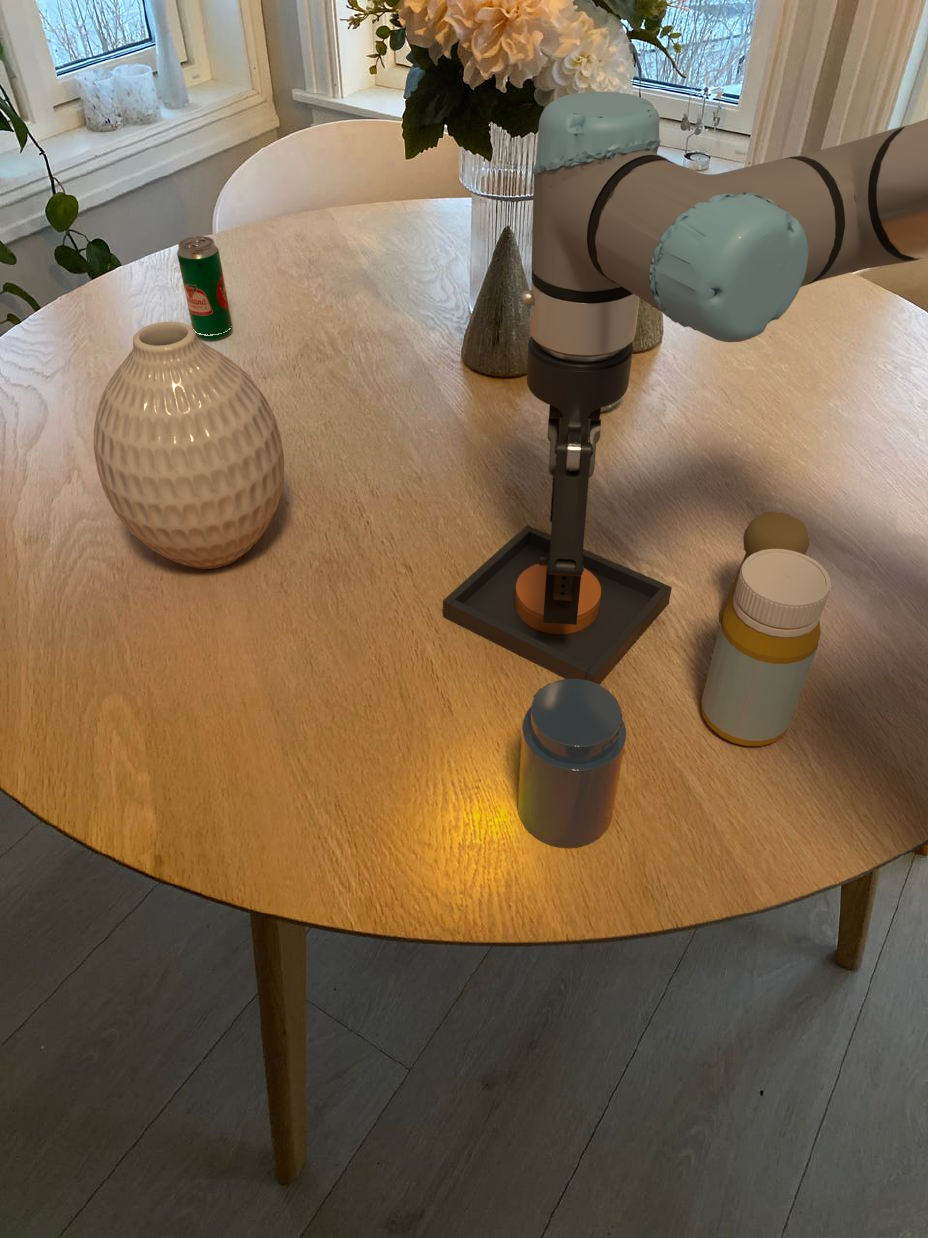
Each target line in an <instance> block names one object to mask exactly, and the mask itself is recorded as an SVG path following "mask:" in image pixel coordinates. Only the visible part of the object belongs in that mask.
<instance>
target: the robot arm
mask: <svg viewBox="0 0 928 1238" xmlns="http://www.w3.org/2000/svg"><path fill="white" fill-rule="evenodd" d="M660 120H661V117H660V113H659V111H658V110H657V109H656V108H655V107H654V104H653V103H651V101H649V100H648V99H647V98H643V97H641V96H638V95H635V94H630V93H625V92H617V91H602V90H601V91H599V90H598V91H583V92H576V93H571V94H566V95H563V96H561V97H558V98H556V99H554V100H552V101H551V102H550V103H548V104H547V105H546V106H545V108H544V109H543V111H542V112H541V114H540V117H539V120H538V131H537V144H536V155H535V164H534V166H533V167H532V170H531V171H532V175H533V189H532V190H533V191H532V192H533V193H532V194H533V195H532V230H531V231H532V232H531V233H532V234H531V239H532V240H531V285H530V288H531V290H524V291H522V293H521V296H520V300H521V303H522V304H523V305H525V306H531V307H530V311H529V334H530V336H531V337H530V338H529V340H528V343H527V362H526V363H527V364H526V384H527V388H528V389H529V391H530V393H531V394H532V395H533V396H534V397H535V398H536V399H538V400H539V401H540V402H542V403H544V404H547V405H549V407H548V408H549V409H548V419H547V420H548V422H547V439H548V441H549V454H548V455H549V457H548V458H549V459H548V473H549V475H551V476H552V487H551V502H550V515H549V516H550V517H549V523H551V527H550V535H551V541H550V554H548V555H547V558H542V557H539V565H540V566H547V571H546V586H545V601H544V617H543V623H558V624H573V625H577V614H578V604H579V594H580V584H581V575H582V572H584V565H583V564H582V563H583V549H585V548H584V546H585V533H586V520H587V509H588V507H587V506H588V495H589V482H590V478H591V477H592V476H593V475H594V473H595V468H596V467H595V466H596V455H597V454H596V453H597V452H596V451H597V443H599V441H600V438H601V431H602V430H601V428H602V419H601V413H602V412H601V411H602V408H605V407H608V406H611V405H613V404H615V403H616V402H618V401H619V400H620V399H622V398H623V397H624V396H625V395H626V393H627V391H628V388H629V384H630V376H631V369H632V368H631V367H632V358H633V350H634V347H633V344H632V342H633V341H634V339H635V338H636V337H635V336H636V333H637V325H638V315H639V309H640V299H641V300H643V301H644V302H646V303H647V304H649V305H650V306H652V307H653V308H655V309H656V310H658V311H660V312H661V313H662V314H663V315H664V316H666V317H667V318H668V319H670V320H671V321H672V322H673V323H674V324H678V325H680V326H681V327H683V328H687V327H688V328H690V329H692V330H694V331H697V332H699V333H701V334H704V335H706V336H708V337H709V338H712V339H714V340H715V341H719V342H724V343H741V342H745V341H748V340H751V339H753V338H756V337H757V336H760V335H761V334H763V333H764V331H765V330H766V328H767V327H768V324H770V323H771V322H773V321H776V320H777V321H778V320H779V319H781V317H782V316H783V315H784V314H785V313H786V312H787V311H788V309H789V308H790V307H791V305H792V304H793V302H794V300H795V298H796V297H797V296H798V294H799V291H800V289H801V288H803V287H805V286H808V285H812V284H814V283H816V282H819V281H824V280H828V279H831V278H834V277H838V276H842V275H846V274H851V273H855V272H859V271H862V270H863V271H864V270H868V269H873V268H881V267H885V266H892V265H893V266H894V265H897V264H903V263H909V262H910V263H911V262H916V261H919V260H922V259H923V260H924V259H928V118H925V119H921V120H919V121H917V122H914V123H911V124H908V125H903V126H899V127H894V128H891V129H889V130H885V131H882V132H879V133H875V134H872V135H869V136H866V137H862V138H860V139H856V140H853V141H849V142H845V143H842V144H838V145H835V146H831V147H827V148H822V149H819V150H815V151H812V152H808V153H807V152H806V153H804V154H799V155H796V156H789V157H784V158H779V159H775V160H771V161H767V162H762V163H758V164H754V165H749V166H746V167H741V168H736V169H732V170H728V171H724V172H720V173H714V174H708V173H707V174H706V173H701V172H698V171H695V170H693V169H690V168H688V167H685V166H683V165H680V164H678V163H676V162H674V161H671V160H669V159H668V158H666V157H664V156H662V155H660V154H658V151H659V148H660V145H661V142H662V141H661V138H660Z"/></svg>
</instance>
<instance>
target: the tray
mask: <svg viewBox="0 0 928 1238" xmlns="http://www.w3.org/2000/svg"><path fill="white" fill-rule="evenodd" d="M550 541H551V533H548V532H546V531H543V530H541V529H538V528H536V527H533V526H531V525H529V524H526V525H525V526H524V527H523V528H522V529H520V531H518V532H517V533H516V534H515V535H514V536H513V537H511V539H510V540H508V541H507V542H506V543H505V544H504V545H503V546H502V547H500V548H499V549H498V550H497V551H496V552H495V553H494V554H492V556H490V557H489V558H488V559H487V560H486V561H485V562H484V563H483V564H482V565H481V566H480V567H478V568H477V569H476V570H475V571H474V572H473V573H472V574H470V576H468V577H467V578H466V579H465V580H464V581H463V582H461V583H460V585H458V586H457V587H456V588H455V589H453V590H452V592H451V593H449V594H448V595H447V596H446V597H445V598H444V599H443V600H442V617H443V618H445V619H446V620H449V621H451V622H452V623H454V624H456V625H458V626H460V627H462V628H464V629H466V630H468V631H470V632H472V633H474V634H475V635H476V634H477V636H480V637H482V638H484V639H487V640H488V641H490V642H491V643H494V644H496V645H498V646H500V647H502V648H504V649H506V650H508V651H510V652H512V653H514V654H516V655H518V656H520V657H522V658H523V659H526V660H528V661H530V662H532V663H534V664H536V665H538V666H540V667H541V668H544V669H546V670H547V671H550V672H552V673H553V674H555V675H558V676H560V677H561V678H563V679H582V680H587V681H591V682H594V683H596V684H598V685H600V684H601V683H602V682H603V681H604V680H605V679H606V678H607V677H608V676H609V674H610V673H611V672H612V671H613V669H614V668H615V667H616V666H617V665H618V664H619V663H620V661H621V660H622V659H623V658H624V657H625V655H626V654H627V653H628V652H629V651H630V650H631V649H632V648H633V646H634V645H636V643H637V642H638V640H639V639H640V638H641V637H642V636H643V634H645V632H646V631H647V630H648V629H649V627H650V626H651V625H652V624H653V623H654V621H655V620H656V619H658V617H659V615H661V614H662V612H663V611H664V610H665V609H666V607H668V605H669V604H670V599H671V595H672V589H673V587H672V586H670V585H668V584H666V583H664V582H661V581H659V580H658V579H654V578H652V577H650V576H648V575H645V574H643V573H641V572H638V571H636V570H634V569H632V568H629V567H627V566H625V565H622V564H620V563H618V562H615V561H613V560H611V559H609V558H606V557H604V556H601V555H599V554H597V553H594V552H592V551H589V550H587V549H585V548H583V563H582V564H583V565H584V568H585V569H587V570H588V571H590V572H591V573H592V574H593V575H594V576H595V577H596V578H597V580H598V582H599V584H600V587H601V598H600V606H599V612H598V615H597V617H596V619H595V620H594V622H593V623H592V624H591V625H589V626H588V627H586V628H585V629H583V630H581V631H578V632H575V633H570V634H549V633H545V632H541V631H538V630H536V629H534V628H532V627H530V626H529V625H527V624H526V623H525V622H524V621H522V619H521V618H520V617H519V615H518V614H517V611H516V608H515V592H516V582H517V580H518V578H519V576H520V575H521V574H522V573H523V572H524V571H525V570H526V569H528V568H529V567H531V566H533V565H536V564H539V557H542V558H547V555H548V554H550ZM600 686H601V685H600Z"/></svg>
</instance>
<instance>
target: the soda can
mask: <svg viewBox="0 0 928 1238" xmlns="http://www.w3.org/2000/svg"><path fill="white" fill-rule="evenodd" d="M177 245H178V249H177V251H176V255H177V261H178V265H179V270H180V275H181V280H182V285H183V289H184V294H185V299H186V305H187V308H188V313H189V318H190V323H191V328H193V329H194V330H195V331H196V332H197V333H201V334H206V335H207V334H208V335H210V334H218V333H222V334H219V335H213V336H204V335H199V334H197V333H196V336H197V338H198V339H199V340H202V341H206V342H214V341H220V340H223V339H226V338H228V336H229V335H230V334H231V333H232V331H233V323H232V322H233V321H232V317H231V310H230V306H229V299H228V293H227V289H226V283H225V277H224V271H223V266H222V260H221V255H220V250H219V247H218V246H217V245H216V243H215V239H213V238H211V237H209V236H205V235H195V236H190V237H186V238H184V239H181V240H180V241H179V242H178V244H177ZM231 326H232V327H231ZM229 328H231V329H230V330H228V329H229ZM227 330H228V331H227ZM225 331H227V332H225ZM223 332H225V333H223Z"/></svg>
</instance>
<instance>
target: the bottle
mask: <svg viewBox="0 0 928 1238" xmlns="http://www.w3.org/2000/svg"><path fill="white" fill-rule="evenodd" d="M831 586H832V584H831V577H830V574H829V573H828V571H827V570H826V569H825V568H824V567H823V566H822V564H821V563H819V562H818V561H816V560H815V559H814V558H812V557H810V556H808V555H806V554H805V555H804V554H801V553H798V552H795V551H791V550H785V549H767V550H762V551H759V552H756V553H754V554H752V555H750V556H749V557H748V558H747V559H746V560H745V562H744V563H743V565H742V566H741V570H740V574H739V577H738V581H737V585H736V591H735V594H734V598H733V600H732V601H731V602H730V603H729V604H728V605H727V607H726V608H725V611H724V614H723V617H722V621H721V624H720V625H719V630H718V633H717V638H716V640H715V645H714V649H713V653H712V657H711V661H710V665H709V669H708V673H707V676H706V677H707V678H706V681H705V685H704V689H703V693H702V697H701V704H700V711H701V715H702V717H703V719H704V721H705V722H706V724H707V726H708V727H709V728H710V729H711V730H712V731H714V732H715V733H716V734H717V735H718V736H719V737H721V738H722V739H724V740H725V741H728V742H730V743H732V744H735V745H739V746H743V747H761V746H762V747H763V746H765V745H770V744H773V743H775V742H776V741H779V740H780V739H781V738H783V736H784V735H786V733H787V731H788V730H789V727H790V726H791V723H792V721H793V717H794V715H795V712H796V708H797V706H798V703H799V701H800V698H801V695H802V691H803V689H804V686H805V683H806V680H807V679H808V675H809V672H810V669H811V667H812V664H813V661H814V658H815V656H816V652H817V649H818V647H819V644H820V643H819V642H820V640H821V633H822V630H821V623H820V621H821V620H820V619H821V617H822V614H823V613H824V610H825V608H826V604H827V602H828V599H829V595H830V593H831V589H832V587H831Z"/></svg>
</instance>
